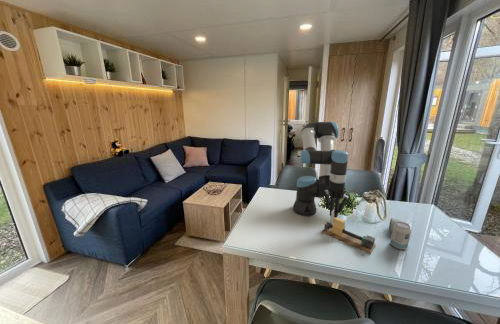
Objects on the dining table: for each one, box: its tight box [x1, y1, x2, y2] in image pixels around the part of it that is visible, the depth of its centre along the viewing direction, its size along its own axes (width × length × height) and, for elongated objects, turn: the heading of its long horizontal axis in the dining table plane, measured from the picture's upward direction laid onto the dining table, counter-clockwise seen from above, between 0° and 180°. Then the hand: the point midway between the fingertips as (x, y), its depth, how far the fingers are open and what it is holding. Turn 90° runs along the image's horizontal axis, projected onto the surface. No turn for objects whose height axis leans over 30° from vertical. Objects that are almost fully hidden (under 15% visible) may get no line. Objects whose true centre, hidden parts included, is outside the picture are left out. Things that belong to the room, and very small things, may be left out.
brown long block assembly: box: [321, 221, 377, 255], centre depth 105 cm, size 24×8×6 cm, turn 45°
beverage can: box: [390, 221, 412, 250], centre depth 99 cm, size 7×7×12 cm
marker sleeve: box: [332, 216, 346, 236], centre depth 108 cm, size 5×4×8 cm
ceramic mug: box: [388, 217, 410, 233], centre depth 111 cm, size 11×8×8 cm
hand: (332, 221), depth 110 cm, fingers closed
